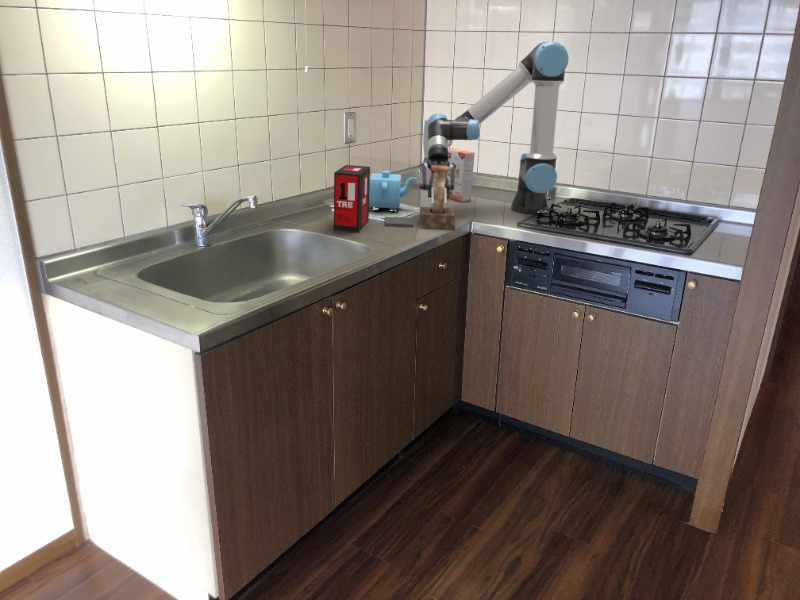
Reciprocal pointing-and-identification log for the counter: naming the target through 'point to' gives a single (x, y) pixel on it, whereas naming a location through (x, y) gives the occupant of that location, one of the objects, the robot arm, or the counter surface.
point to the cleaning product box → (351, 198)
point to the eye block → (437, 218)
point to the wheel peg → (439, 187)
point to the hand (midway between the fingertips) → (438, 204)
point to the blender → (425, 145)
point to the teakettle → (387, 190)
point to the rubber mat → (398, 221)
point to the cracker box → (461, 174)
